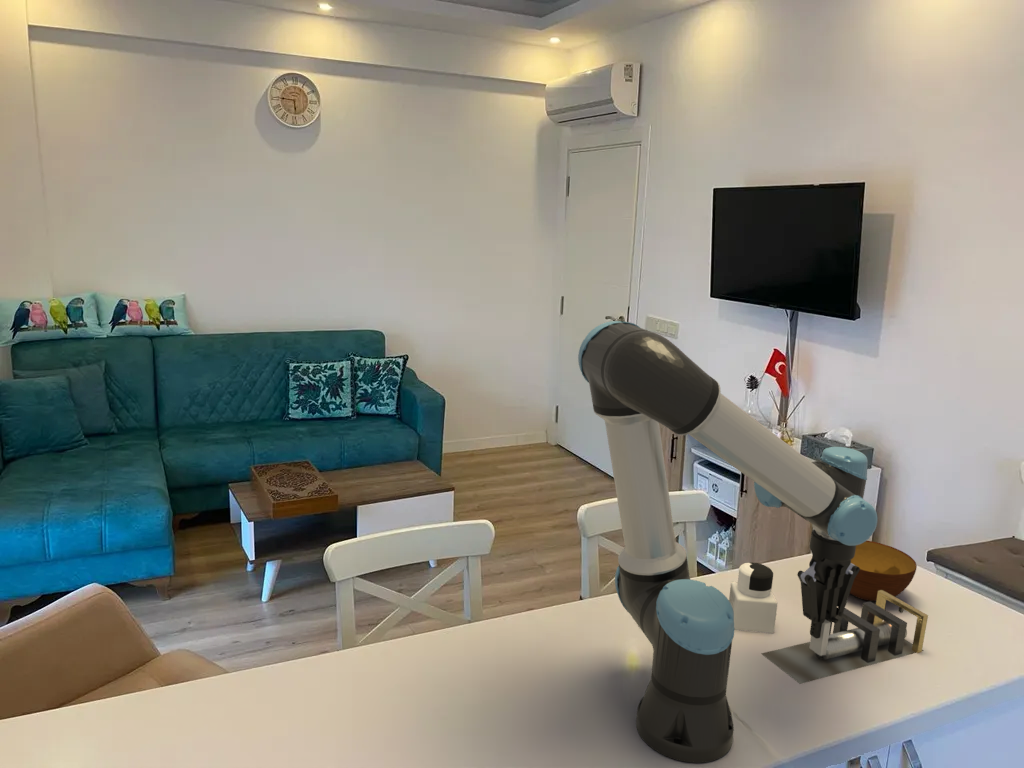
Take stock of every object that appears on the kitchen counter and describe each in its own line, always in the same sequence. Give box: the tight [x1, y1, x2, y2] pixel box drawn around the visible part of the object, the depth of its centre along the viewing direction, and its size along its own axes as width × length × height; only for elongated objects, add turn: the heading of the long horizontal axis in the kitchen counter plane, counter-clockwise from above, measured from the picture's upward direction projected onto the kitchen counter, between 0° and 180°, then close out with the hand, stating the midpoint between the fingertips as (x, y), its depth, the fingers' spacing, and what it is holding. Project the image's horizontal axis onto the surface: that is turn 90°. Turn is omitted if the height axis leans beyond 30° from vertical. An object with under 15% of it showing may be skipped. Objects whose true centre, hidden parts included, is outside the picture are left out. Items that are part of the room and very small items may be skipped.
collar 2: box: [860, 601, 908, 656], centre depth 145 cm, size 2×8×6 cm, turn 23°
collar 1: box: [832, 607, 880, 663], centre depth 142 cm, size 2×8×6 cm, turn 23°
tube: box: [815, 620, 908, 660], centre depth 143 cm, size 20×4×4 cm, turn 113°
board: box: [760, 638, 924, 685], centre depth 142 cm, size 31×10×1 cm, turn 113°
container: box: [728, 562, 778, 634], centre depth 150 cm, size 8×8×13 cm
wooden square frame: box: [874, 590, 929, 654], centre depth 146 cm, size 1×10×8 cm, turn 23°
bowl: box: [849, 540, 918, 602], centre depth 164 cm, size 18×18×10 cm
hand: (817, 651), depth 139 cm, fingers closed
